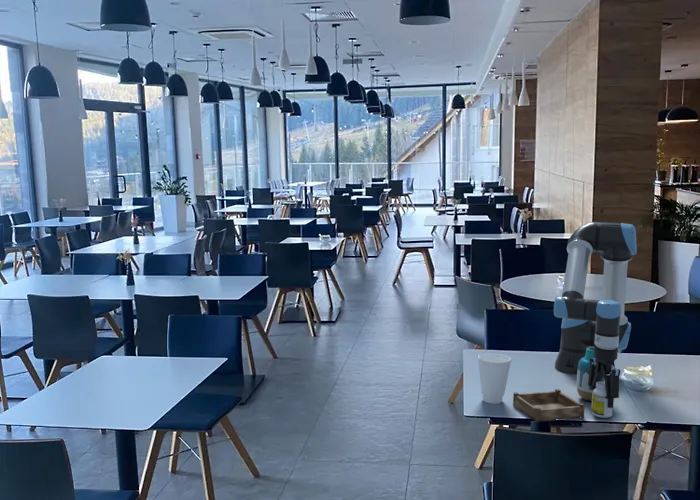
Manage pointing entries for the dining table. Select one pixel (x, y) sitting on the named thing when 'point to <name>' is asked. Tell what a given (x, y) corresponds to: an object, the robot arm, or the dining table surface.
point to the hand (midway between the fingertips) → (601, 412)
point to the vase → (585, 375)
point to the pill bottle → (599, 399)
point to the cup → (493, 376)
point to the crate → (548, 406)
